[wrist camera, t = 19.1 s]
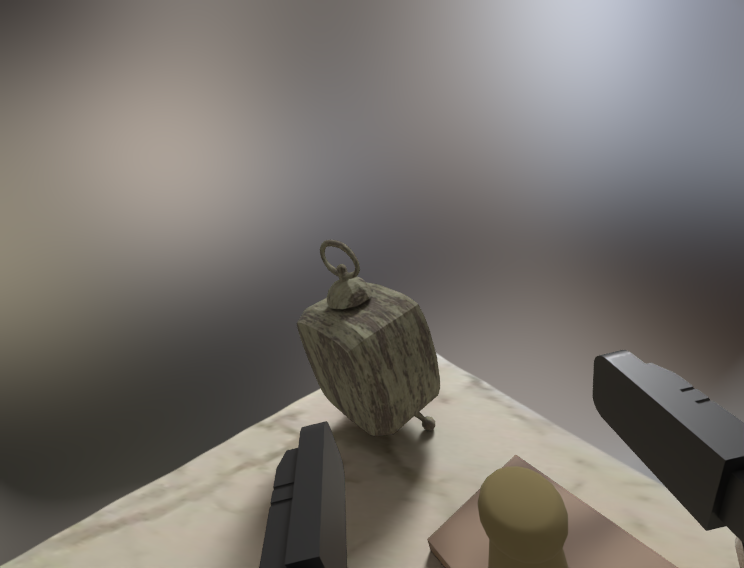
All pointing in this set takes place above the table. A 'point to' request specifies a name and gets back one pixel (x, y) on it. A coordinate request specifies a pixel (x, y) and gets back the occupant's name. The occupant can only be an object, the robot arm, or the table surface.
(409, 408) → the tabletop clock
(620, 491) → the table surface
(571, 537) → the walnut board
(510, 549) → the cork
